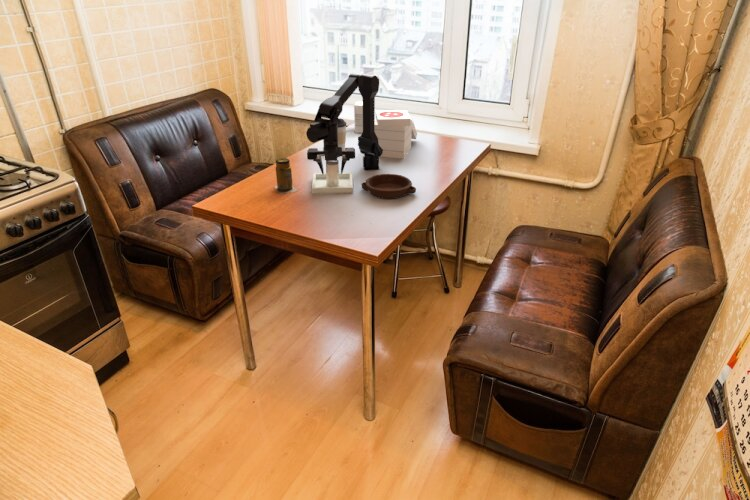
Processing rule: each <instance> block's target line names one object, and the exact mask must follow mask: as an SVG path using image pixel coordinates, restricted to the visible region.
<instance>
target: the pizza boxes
mask: <svg viewBox="0 0 750 500" xmlns="http://www.w3.org/2000/svg"><path fill="white" fill-rule="evenodd" d="M375 120H376V121H375V123H374V131H375V134H376V136H377V137H378V143H379V146H380V147H381V148H382V149H383V153H382V155H381V156H380V157H384V158H391V159H401V158H402V160H405V158H406V156H407V155H408V154H409V152H410V151H411V150H412V140H417V136H418V132H417V129H416V126H415V123H414V121H413V118H411V116H410V114H409V112H408V110H407V109H406V110H375ZM410 149H411V150H410ZM409 150H410V151H409ZM407 153H408V154H407Z"/></svg>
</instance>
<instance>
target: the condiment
mask: <svg viewBox="0 0 750 500" xmlns="http://www.w3.org/2000/svg"><path fill="white" fill-rule="evenodd" d="M290 162H291V161H290V159H289V158H287V157H280V158H277V159H276V160H275V176H276V183H277V185H275V186H273V188H274V189H275V190H276V191H277V193H278V194H280V195H281V194H289V193H294V192H298V189H297V188H295V187H294V185H293V176H292V166H291V163H290Z"/></svg>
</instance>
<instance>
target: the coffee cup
mask: <svg viewBox="0 0 750 500" xmlns="http://www.w3.org/2000/svg"><path fill="white" fill-rule="evenodd" d="M339 119H340V120H341V122H340V123H337V125H338V147H342V151H345V148H346V141H347V140H346V138H347V137H346V136H347V122H346V121H345V120H344V119H342V118H339Z"/></svg>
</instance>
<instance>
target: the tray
mask: <svg viewBox="0 0 750 500" xmlns="http://www.w3.org/2000/svg"><path fill="white" fill-rule="evenodd" d="M311 184H312V185H311V194H312V195H340V194H342V195H345V194H348V195H349V194H354V189H353V188H354V187H353V172H343V173H342V174H341V172H339V185H338V186H336V187H329V186H327V182H326V172H324V174H322V172H320V173H319V172H316V173H315V172H314V173H313V177H312V183H311Z"/></svg>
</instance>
